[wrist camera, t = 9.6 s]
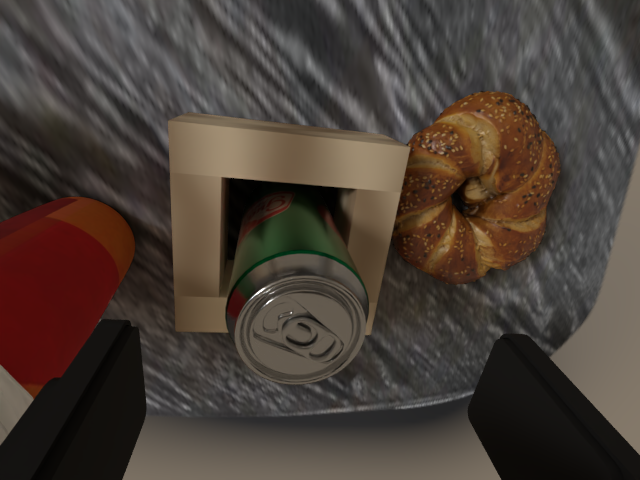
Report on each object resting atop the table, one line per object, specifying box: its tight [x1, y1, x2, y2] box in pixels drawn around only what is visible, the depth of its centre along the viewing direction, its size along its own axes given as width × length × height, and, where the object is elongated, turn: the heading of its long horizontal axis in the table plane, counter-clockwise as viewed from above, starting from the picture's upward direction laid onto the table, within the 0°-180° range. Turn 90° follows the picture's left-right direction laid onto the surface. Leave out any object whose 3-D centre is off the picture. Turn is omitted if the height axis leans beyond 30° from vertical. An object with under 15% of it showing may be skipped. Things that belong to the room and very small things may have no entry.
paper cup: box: [0, 197, 135, 445], centre depth 15 cm, size 8×8×14 cm
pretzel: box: [392, 91, 560, 285], centre depth 22 cm, size 12×11×4 cm
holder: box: [168, 112, 410, 335], centre depth 21 cm, size 11×11×4 cm
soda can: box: [225, 181, 369, 385], centre depth 17 cm, size 5×5×12 cm
